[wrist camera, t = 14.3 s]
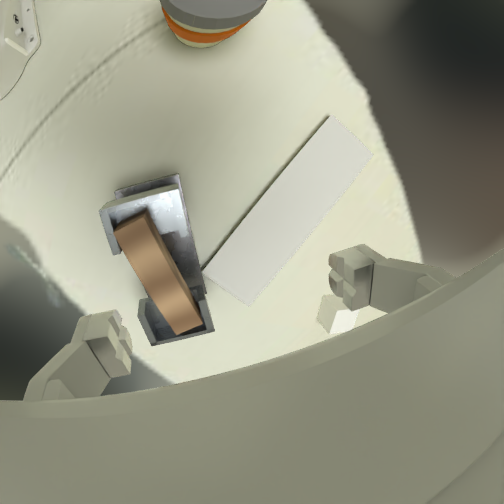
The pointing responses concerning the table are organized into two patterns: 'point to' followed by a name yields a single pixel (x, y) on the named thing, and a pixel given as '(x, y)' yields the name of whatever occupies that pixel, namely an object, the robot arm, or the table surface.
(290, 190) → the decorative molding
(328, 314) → the white cube
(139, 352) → the table surface
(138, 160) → the table surface
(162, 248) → the rail
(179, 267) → the bracket stand
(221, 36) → the reusable coffee cup
